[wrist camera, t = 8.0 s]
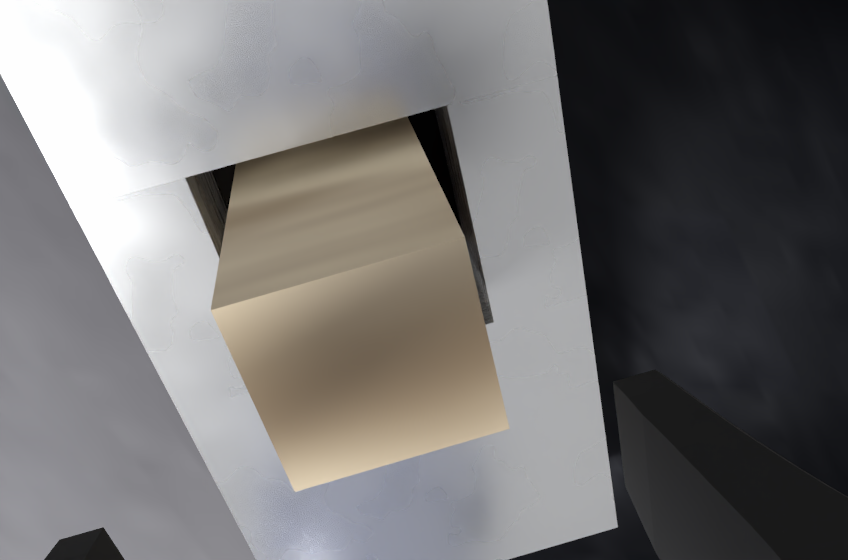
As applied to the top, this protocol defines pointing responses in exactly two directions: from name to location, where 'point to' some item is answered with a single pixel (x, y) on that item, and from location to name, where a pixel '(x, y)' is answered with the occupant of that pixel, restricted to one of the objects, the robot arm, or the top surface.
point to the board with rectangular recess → (302, 124)
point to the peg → (354, 306)
